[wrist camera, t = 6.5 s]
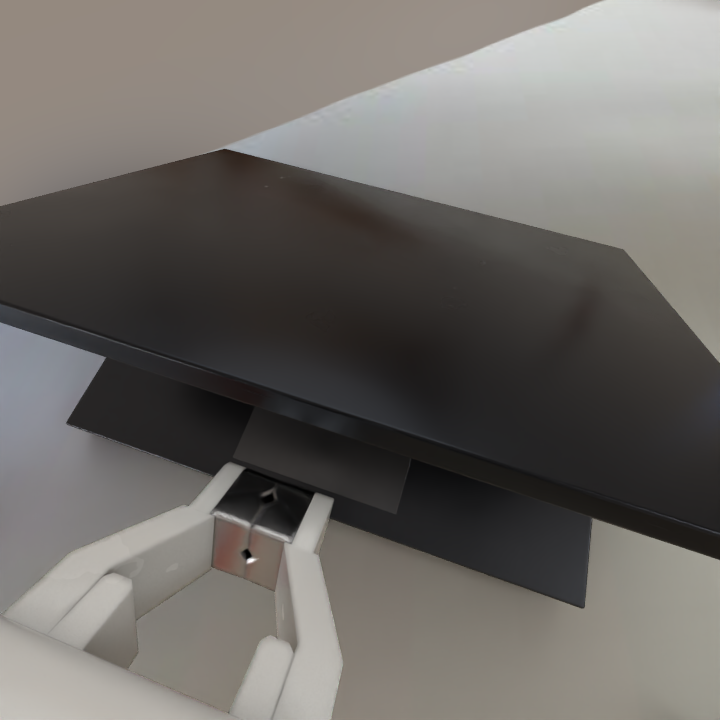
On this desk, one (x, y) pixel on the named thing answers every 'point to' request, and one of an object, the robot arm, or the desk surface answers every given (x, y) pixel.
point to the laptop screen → (387, 329)
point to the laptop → (347, 479)
